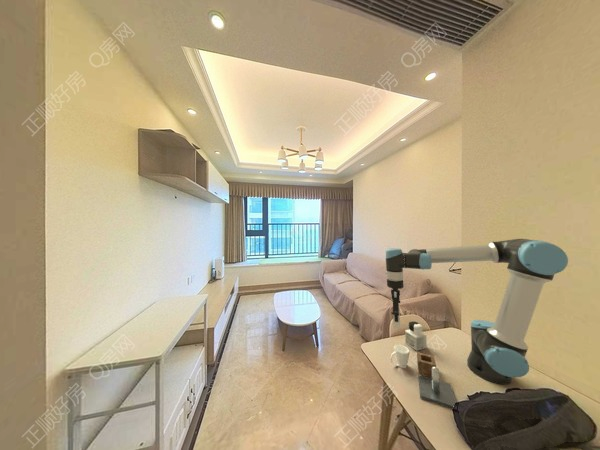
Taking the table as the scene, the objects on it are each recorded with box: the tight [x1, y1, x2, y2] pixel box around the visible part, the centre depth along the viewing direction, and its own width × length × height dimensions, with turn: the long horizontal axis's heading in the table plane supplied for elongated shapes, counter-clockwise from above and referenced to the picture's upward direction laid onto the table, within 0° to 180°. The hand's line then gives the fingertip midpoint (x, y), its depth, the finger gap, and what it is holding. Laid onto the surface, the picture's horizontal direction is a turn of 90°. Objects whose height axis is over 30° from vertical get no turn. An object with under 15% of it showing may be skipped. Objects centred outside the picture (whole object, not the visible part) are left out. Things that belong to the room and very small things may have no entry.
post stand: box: [417, 366, 457, 410], centre depth 80 cm, size 12×12×10 cm
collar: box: [416, 351, 437, 378], centre depth 92 cm, size 7×7×6 cm
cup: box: [389, 344, 410, 369], centre depth 96 cm, size 7×10×8 cm
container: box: [404, 320, 428, 352], centre depth 111 cm, size 8×8×13 cm
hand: (396, 321), depth 97 cm, fingers open, 13 cm apart
